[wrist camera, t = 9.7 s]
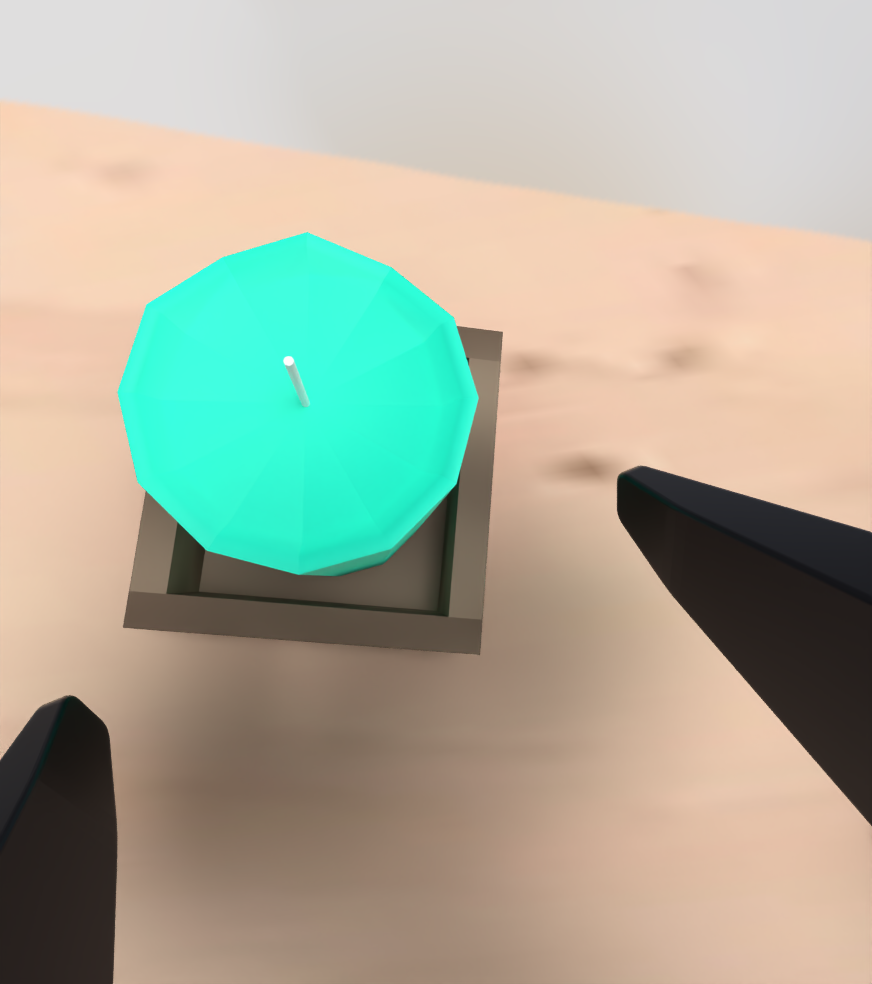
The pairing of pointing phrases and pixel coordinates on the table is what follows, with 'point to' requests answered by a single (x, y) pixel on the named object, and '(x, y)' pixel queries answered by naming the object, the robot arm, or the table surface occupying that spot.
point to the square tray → (352, 597)
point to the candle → (298, 406)
